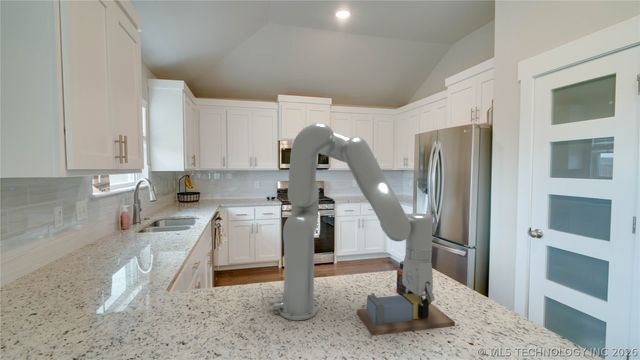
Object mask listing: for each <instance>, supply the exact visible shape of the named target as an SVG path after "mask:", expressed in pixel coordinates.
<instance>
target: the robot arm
mask: <svg viewBox="0 0 640 360" xmlns="http://www.w3.org/2000/svg"><path fill="white" fill-rule="evenodd" d="M319 154H320V155H323V156H325V157H329V158H331V159H334V160H336V161H340V162H342V163H346V164H347V167H348V169H349V171H350V172H351V174H352V176H353V178H354V180H355V182H356V184H357V186H358V188H359V190H360V192H361V193H362V195H363V196H364V197H365V200H366V201H368V203H369V204H370V207H371V208H372V210H373V212H374V214H375V215H376V217H377V219H378V220H379V224H380V227H381V230H382V231H383V232H384V234H385V236H386V237H387V238H389V239H390V240H392V241H394V242H402V241H405V255H404V260H403V261H404V264H403V273H402V283H403V285H404V286H405V288H406V294H415V295H417V296H418V297H419V303H420V304H418V318H428V313H429V305H430V303H431V304H432V302H434V301H435V296H434V293H433V289H434V288H433V287H434V282H433V281H434V279H433V278H434V275H433V274H434V273H433V263H432V250H433V248H432V247H433V218H432V216H431V215H430V214H427V213H418V212H416V213H415V212H413V213H406V212H405V211H404V209H403V206H402V204H401V202H400V201H399V199H398V197H397V196H396V194H395V192H394V191H393V189H392V187H391V185H390V183H389V181H388V180H387V178H386V177H385V174H384V172H383V171H382V169H381V166H380V165H379V163H378V161H377V158H376V157H375V155H374V153H373V151H372V150H371V148H370V146H369V143H367V141H366V140H365V139H364V138H363V137H359V136H353V137H347V136H343V135H341V134H338V133H336V132H334V130H333V129H332V128H331V127H330V126H329V125H328V124H325V123H322V122H318V123H317V122H315V123H312V124H310V125H307V126H306V127H304V128H303V129H301V131H300V132H298V133H297V135H296V137H295V138H294V140H293V142H292V145H291V149H290V159H289V170H288V171H289V172H288V185H287V199H288V201H289V203H290V204H291V212H290V213H291V214H290V215H289V216H288V217H287V219H285V223H284V225H283V231H282V235H283V237H282V238H283V249H284V250H283V255H284V256H283V257H284V258H283V261H284V263H283V264H284V269H283V277H284V278H283V293H282V294H281V296H279V297H277V298H268V304H269V305H268V306H272V307H273V309H278V313H279V315H280V317H283V318H284V319H287V320H289V321H290V320H291V321H304V320H309V319H312V318H313V317H314V316H316V315H317V314H318V312H319V305H318V303H317V302H316V301H314V299H315V298H314V295H315V293H314V292H315V291H314V288H315V287H314V285H315V282H314V281H315V231H316V229H317V226H318V221H319V220H318V219H319V202H320V189H319V187H318V185H317V183H316V179H317V176H316V175H317V174H316V173H317V160H318V156H319ZM422 297H424V298H425V299H424V300H423V299H422Z"/></svg>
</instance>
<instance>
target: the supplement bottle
mask: <svg viewBox="0 0 640 360" xmlns="http://www.w3.org/2000/svg"><path fill="white" fill-rule="evenodd" d="M403 264H404V260H402V261H400V262H399V267H397V269H396V292H397V293H398V294H399V295H404V294H406V288H405V286H404V285H403V283H402V273H403Z"/></svg>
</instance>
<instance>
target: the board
mask: <svg viewBox="0 0 640 360" xmlns="http://www.w3.org/2000/svg"><path fill="white" fill-rule="evenodd" d="M356 314H357V315H358V317H359V319H361V322H363V324H364V325H365V327H366V329H367V330H368V331H369V333H370V334H371V336H381V335H388V334H389V335H390V334H396V333H405V332H412V331H413V332H414V331H421V330H429V329H439V328H447V327H454V326H455V325H456V322H455V321H454V320H453V319H452V318H451V317H449V315H448V314H446V313H444V312H443V311H441V310H440V309H439V308H438V307H436V306H435V305H434V304H433V303H432V302H431V303H430V305H429V313H428V318H418V319H413V318H412V320H411V321H401V322H392V323H384V325H380V326H377V325H376V324H374V323H373V322H372V320H371V319H370V318H369V316H368V315H367V308H360V309H359V308H358V309H356Z"/></svg>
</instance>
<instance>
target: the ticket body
mask: <svg viewBox="0 0 640 360" xmlns="http://www.w3.org/2000/svg"><path fill="white" fill-rule="evenodd" d="M366 309H367V315H368V316H369V318H370V319H371V320H372V322H373V323H374V324H376V325H377V326H380V325H384V323H392V322H401V321H411V320H412V318H413V304H412V303H411V302H410V301H409V300H408V299H406V298H405V297H404V296H403V295H402V294H399V295H391V296H390V295H389V296H379V297H377V296H376V295H375V294H367V298H366Z"/></svg>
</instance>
